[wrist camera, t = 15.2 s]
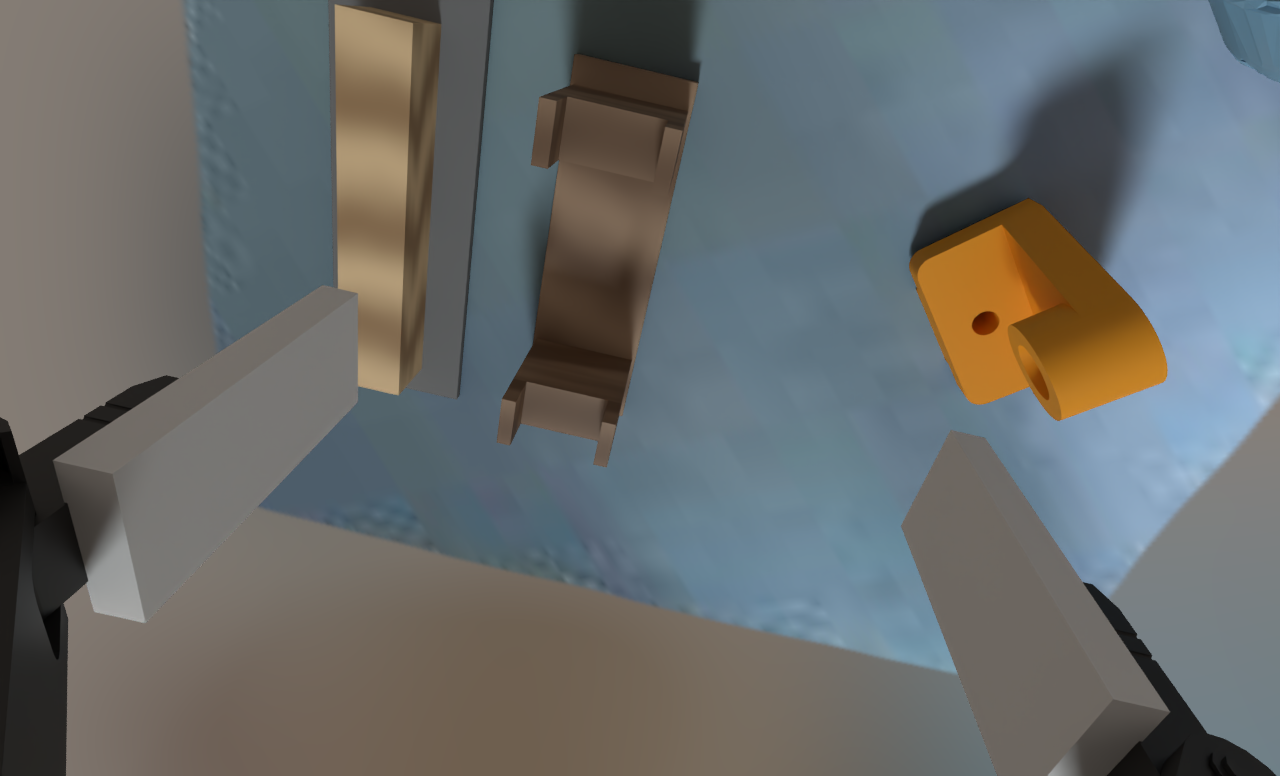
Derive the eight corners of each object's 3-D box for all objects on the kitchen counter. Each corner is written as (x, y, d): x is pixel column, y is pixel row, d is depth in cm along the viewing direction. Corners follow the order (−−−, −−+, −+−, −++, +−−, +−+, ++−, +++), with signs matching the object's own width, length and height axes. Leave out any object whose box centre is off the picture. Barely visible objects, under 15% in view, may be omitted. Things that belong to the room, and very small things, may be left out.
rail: (370, 6, 37) (334, 4, 33) (441, 24, 37) (413, 23, 33) (366, 355, 47) (339, 381, 44) (421, 368, 47) (398, 395, 44)
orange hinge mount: (901, 253, 41) (966, 329, 31) (1022, 195, 39) (1138, 255, 28) (957, 389, 45) (1033, 498, 34) (1071, 344, 43) (1188, 445, 32)
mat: (333, -46, 36) (327, -48, 36) (494, -8, 36) (491, -9, 36) (339, 367, 49) (334, 371, 48) (459, 395, 49) (456, 399, 48)
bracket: (577, 53, 37) (539, 59, 29) (698, 82, 38) (695, 96, 29) (529, 387, 48) (490, 461, 40) (623, 409, 48) (605, 488, 40)
